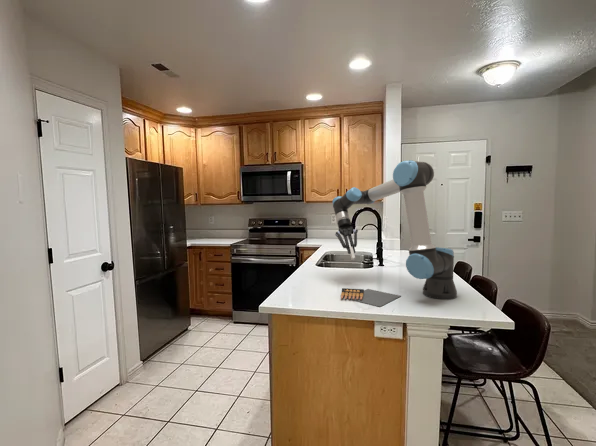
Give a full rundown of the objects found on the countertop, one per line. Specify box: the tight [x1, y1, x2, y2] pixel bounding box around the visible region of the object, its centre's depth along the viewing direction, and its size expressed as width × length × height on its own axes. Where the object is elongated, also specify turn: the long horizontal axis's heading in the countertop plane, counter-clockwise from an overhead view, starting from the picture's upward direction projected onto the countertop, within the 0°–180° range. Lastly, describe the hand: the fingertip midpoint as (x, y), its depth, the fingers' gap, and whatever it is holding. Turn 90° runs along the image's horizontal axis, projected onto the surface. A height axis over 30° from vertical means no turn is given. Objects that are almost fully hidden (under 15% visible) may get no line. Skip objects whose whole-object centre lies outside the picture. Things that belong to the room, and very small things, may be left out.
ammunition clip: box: [340, 287, 365, 301], centre depth 149 cm, size 11×2×12 cm
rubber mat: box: [346, 288, 402, 308], centre depth 148 cm, size 18×20×1 cm
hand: (353, 258), depth 165 cm, fingers closed
